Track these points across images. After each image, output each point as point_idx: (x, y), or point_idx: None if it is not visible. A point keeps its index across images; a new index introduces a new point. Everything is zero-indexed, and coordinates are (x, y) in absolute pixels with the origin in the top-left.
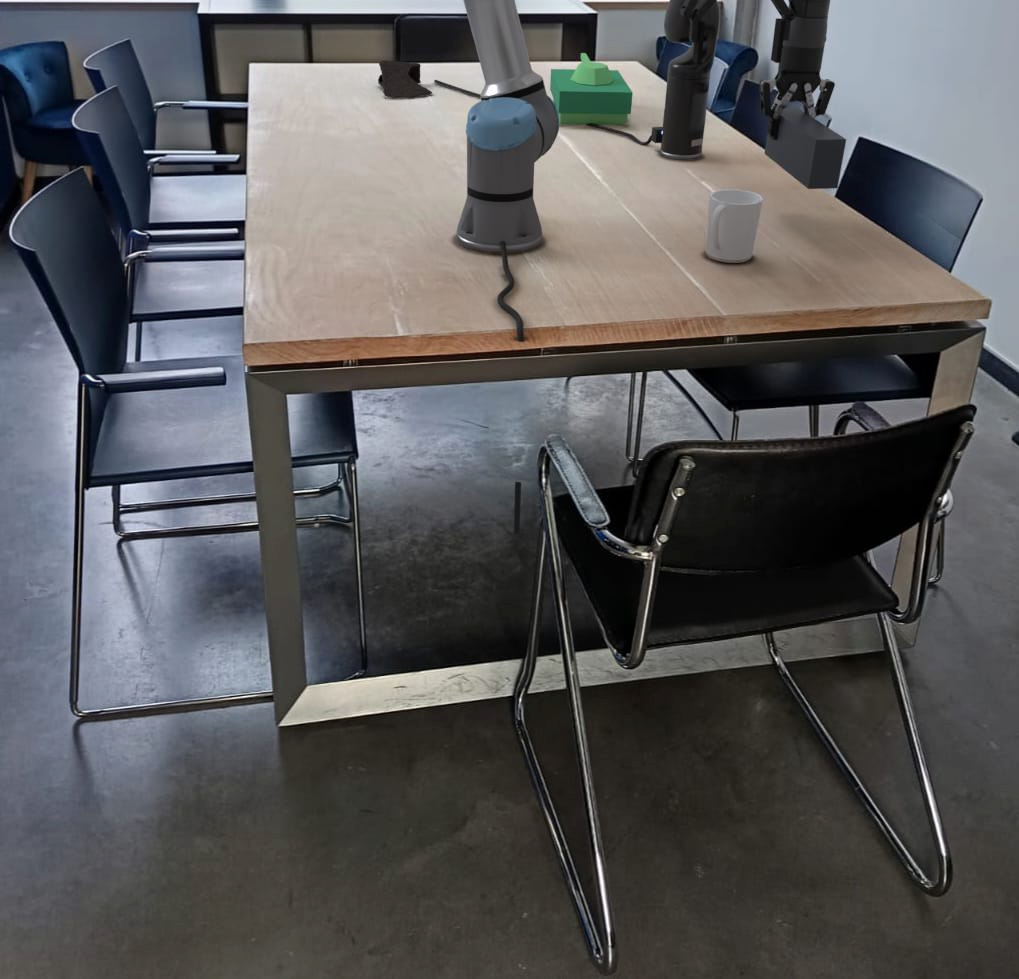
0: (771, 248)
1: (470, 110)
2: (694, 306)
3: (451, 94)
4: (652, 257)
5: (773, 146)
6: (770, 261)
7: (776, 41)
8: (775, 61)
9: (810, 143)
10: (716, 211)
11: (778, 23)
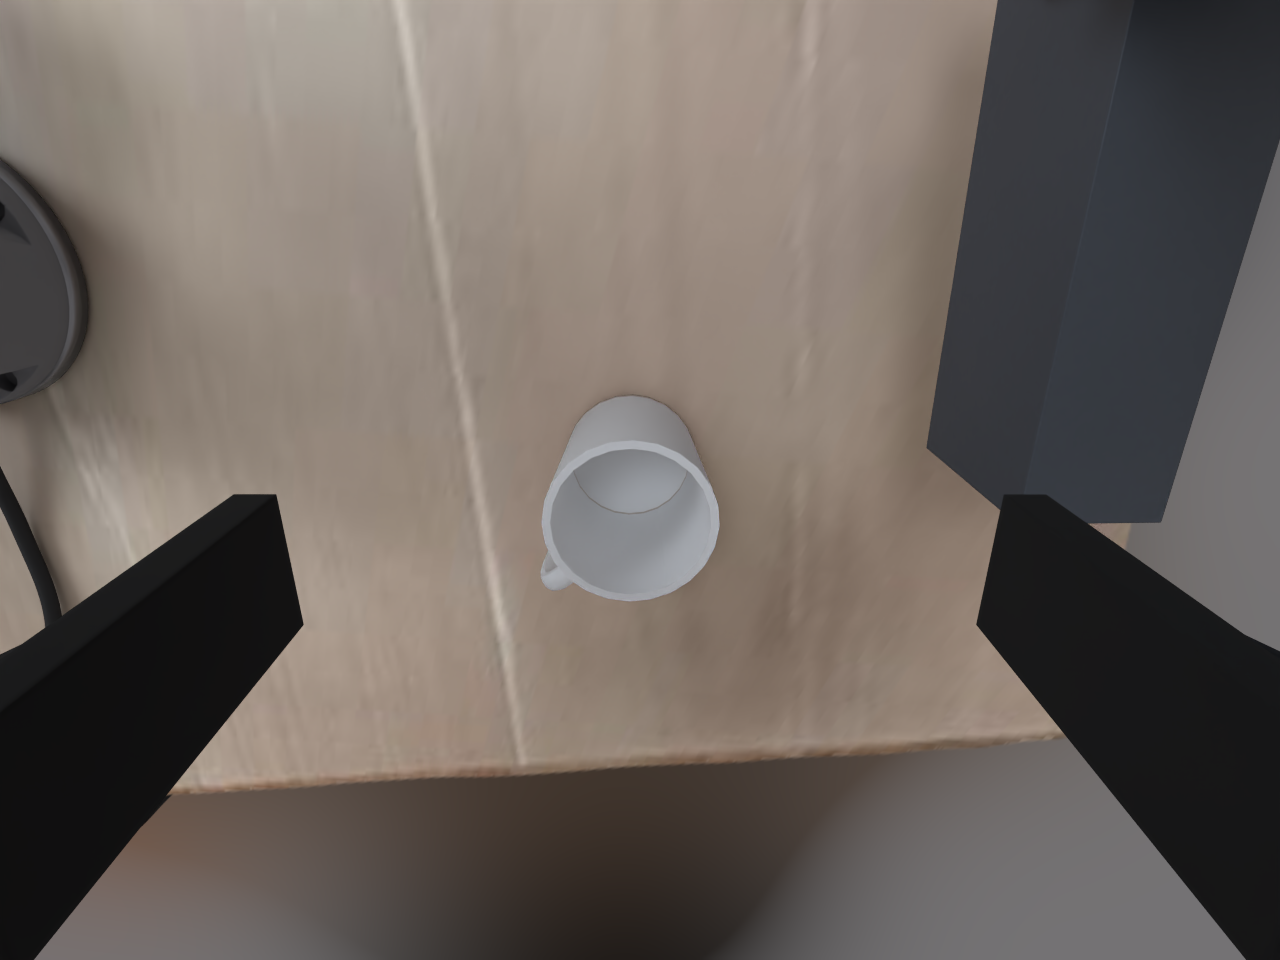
0: (775, 399)
1: None
2: (470, 726)
3: None
4: (419, 445)
5: None
6: (731, 495)
7: (1091, 684)
8: (984, 610)
9: (1012, 457)
10: (546, 586)
11: (1252, 851)
